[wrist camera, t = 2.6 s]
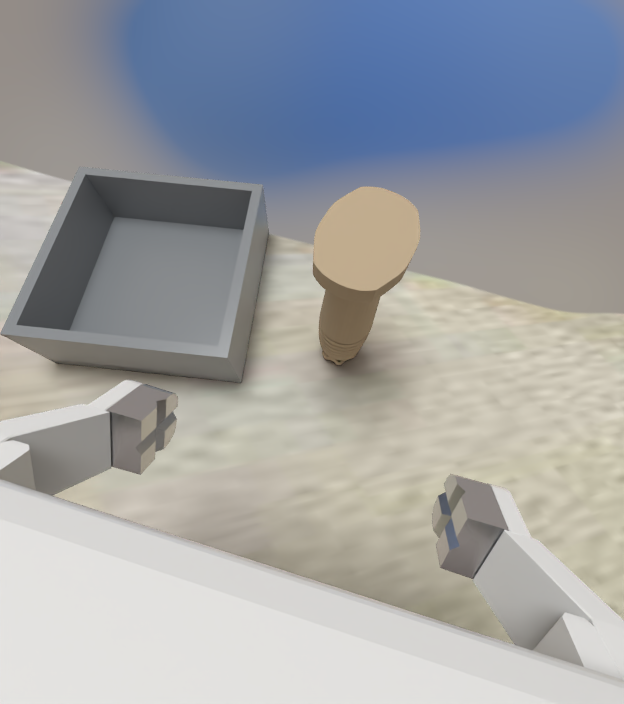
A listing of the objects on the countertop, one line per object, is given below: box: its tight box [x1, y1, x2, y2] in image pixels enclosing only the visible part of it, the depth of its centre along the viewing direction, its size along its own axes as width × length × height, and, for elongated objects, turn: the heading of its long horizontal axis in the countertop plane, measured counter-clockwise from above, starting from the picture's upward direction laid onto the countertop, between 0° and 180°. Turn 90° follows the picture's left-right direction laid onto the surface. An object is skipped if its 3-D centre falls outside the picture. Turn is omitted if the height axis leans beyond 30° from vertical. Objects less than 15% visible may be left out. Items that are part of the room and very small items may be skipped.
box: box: [0, 167, 269, 383], centre depth 30 cm, size 16×16×6 cm
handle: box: [313, 187, 420, 365], centre depth 24 cm, size 5×6×15 cm
